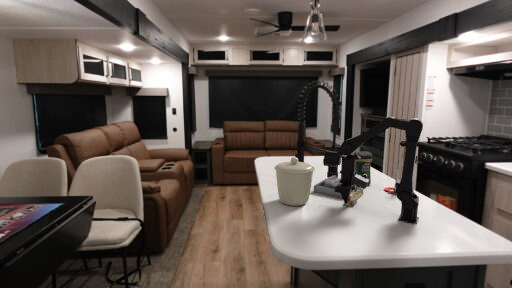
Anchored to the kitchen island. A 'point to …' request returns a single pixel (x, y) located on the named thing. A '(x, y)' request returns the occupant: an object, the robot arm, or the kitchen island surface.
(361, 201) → the kitchen island surface
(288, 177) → the canister
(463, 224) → the kitchen island surface
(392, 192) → the tow hook
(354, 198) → the lock bar
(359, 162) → the coffee jar
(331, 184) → the block
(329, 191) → the dock
